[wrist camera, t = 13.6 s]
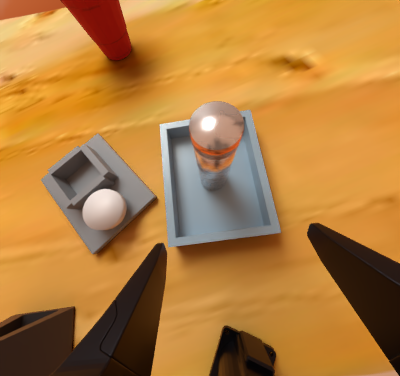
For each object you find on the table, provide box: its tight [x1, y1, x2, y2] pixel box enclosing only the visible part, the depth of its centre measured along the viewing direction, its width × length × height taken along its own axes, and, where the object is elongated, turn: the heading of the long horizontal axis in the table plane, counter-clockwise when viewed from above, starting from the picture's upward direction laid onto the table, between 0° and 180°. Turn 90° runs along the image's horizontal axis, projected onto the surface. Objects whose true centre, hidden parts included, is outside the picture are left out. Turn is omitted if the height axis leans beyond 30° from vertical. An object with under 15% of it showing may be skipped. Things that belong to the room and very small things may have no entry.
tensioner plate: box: [41, 134, 157, 254], centre depth 24 cm, size 16×12×4 cm
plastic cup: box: [61, 0, 131, 60], centre depth 28 cm, size 11×11×12 cm
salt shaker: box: [189, 101, 244, 191], centre depth 18 cm, size 4×4×13 cm
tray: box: [160, 110, 281, 247], centre depth 23 cm, size 18×14×4 cm
